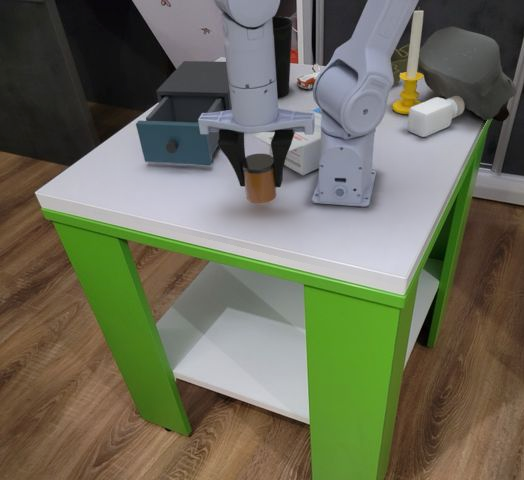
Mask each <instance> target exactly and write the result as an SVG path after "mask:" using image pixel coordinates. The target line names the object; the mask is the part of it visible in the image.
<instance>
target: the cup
mask: <svg viewBox="0 0 524 480" xmlns="http://www.w3.org/2000/svg"><path fill="white" fill-rule="evenodd" d="M272 23H273V35H274V48H275V65H276V80H277V97H278V99H281V98H284V97H286V96H287V95H289V93H290V81H291V80H290V79H291V78H290V77H291V56H292V40H293V39H292V37H293V32H292V31H293V20H292V19H290V18H289V17H285V16H276V15H275V16H273V17H272Z"/></svg>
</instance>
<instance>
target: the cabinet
mask: <svg viewBox="0 0 524 480" xmlns="http://www.w3.org/2000/svg"><path fill="white" fill-rule="evenodd" d="M155 93H156V97H157V102H158V103H157V104H159V102H160V101H161V100H162V99H163V98H164V97H165V96H166V95H171V96H207V97H224V99H225V107H226V111H227V110H232V106H231V98H230V90H229V82H228V74H227V65H226V61H213V60H212V61H208V60H207V61H206V60H205V61H204V60H203V61H202V60H201V61H199V60H198V61H197V60H184V61H183V62H181V64H180V65H179V66H178V67H177V68H176V69H175V70H174V71H173V72H172V73H171V74H170V75H169V77H168V78H166V80H165V81H164V82H163V83H162V84H161V85H160V86H159V87H158V88H157V89H156V91H155Z"/></svg>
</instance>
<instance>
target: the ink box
mask: <svg viewBox="0 0 524 480" xmlns="http://www.w3.org/2000/svg"><path fill="white" fill-rule="evenodd" d="M307 113H315V128H314V132H313V135H306V134H304V132H295V133H294V136H293V140H292V143H291V146H290V148H289V151H288V153H287V155H286V159H285V163H284V167H285V166H286V167H287V168H288V169H290V170H292V171H294V172H295V173H298V174H299V175H301V176H305V175H308V174H310V173H312V172H314V171H316V170H319V160H320V157H321V119H322V109H321V108H320V107H316V108H315V109H312V110H309V111H307ZM274 133H275V132H261V133H254V134H253V138H255V139H256V140H259V141H261V142H262V143H263V144H265V145H266V144H267V145H268V146H269V155H271V156H272V157H273V153H272V148H271V141H272V138H273V136H274Z"/></svg>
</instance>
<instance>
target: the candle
mask: <svg viewBox="0 0 524 480" xmlns="http://www.w3.org/2000/svg"><path fill="white" fill-rule="evenodd" d="M423 24H424V10H420V8H418V9H417V10H414V11H413V13H412V22H411V30H410V37H409V44H410V46H409V55H408V64H407V71H403V72H401V73H400V79H401V80H402V81H403V82H404V83H403V85H402V87H403V89H402V91H401V92H399V98H400V99H398V100H396V101H395V102H393V103H392V110H393V111H394V112H395V113H397V114H400V115H401V114H402V115H409V110H410V108H411V107H413V106H416V105H418V104H420V103H423V102H421V101H420V100H418V98H419V96H420V93H419V92H418V91H417V88H418V84H417V83H418V82H419V80H421V79H424V74H423V73H421V72H419V71H418V59H419V50H420V49H421V42H422V41H421V40H422V33H423V32H422V31H423Z"/></svg>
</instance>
